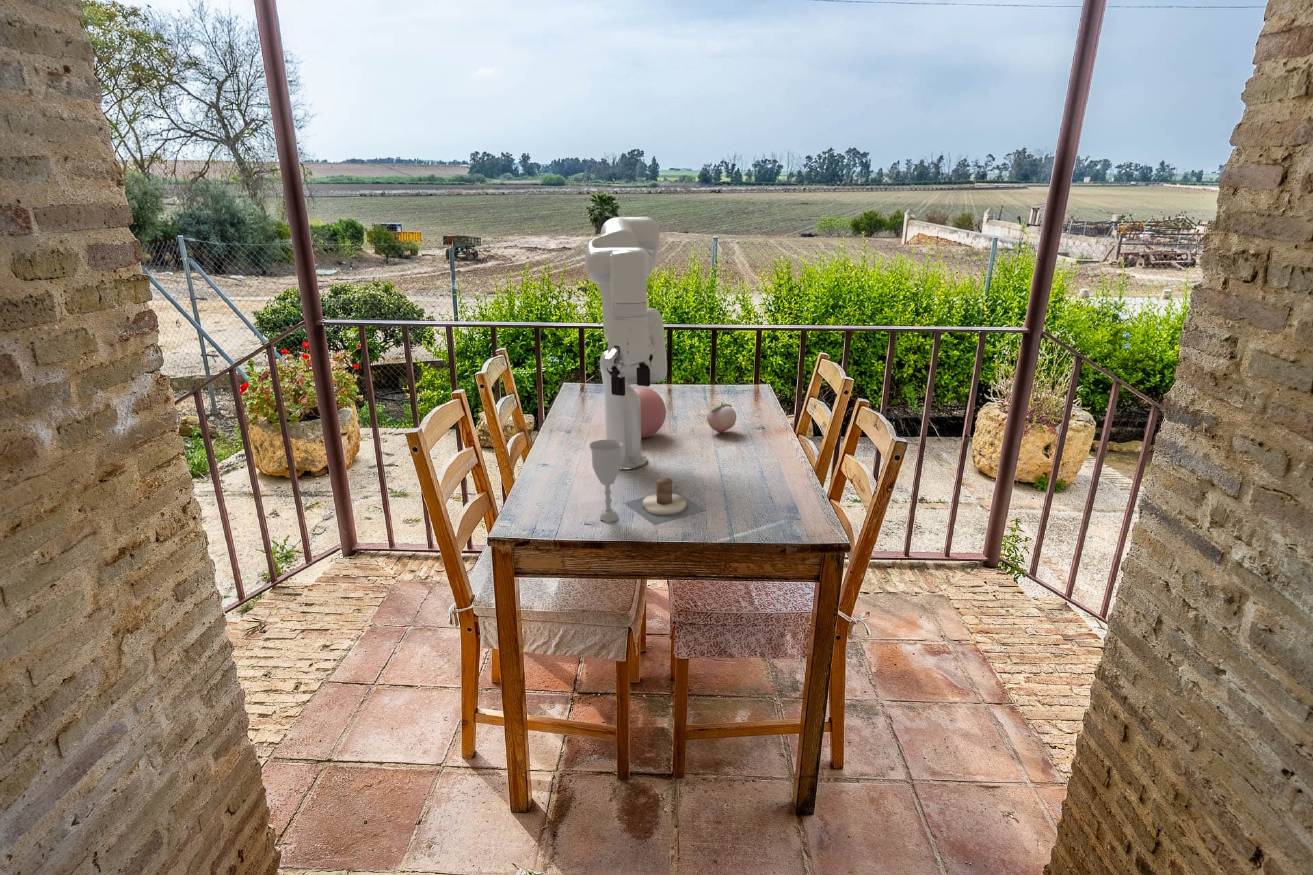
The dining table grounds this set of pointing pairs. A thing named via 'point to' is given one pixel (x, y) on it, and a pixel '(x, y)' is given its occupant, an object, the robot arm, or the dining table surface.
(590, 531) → the dining table surface
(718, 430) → the decorative fruit
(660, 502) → the lid
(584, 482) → the dining table surface
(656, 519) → the mat
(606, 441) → the chalice
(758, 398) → the dining table surface
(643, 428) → the balloon
